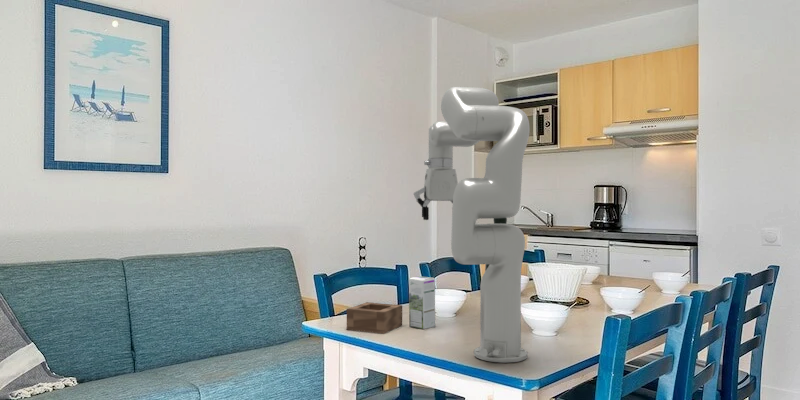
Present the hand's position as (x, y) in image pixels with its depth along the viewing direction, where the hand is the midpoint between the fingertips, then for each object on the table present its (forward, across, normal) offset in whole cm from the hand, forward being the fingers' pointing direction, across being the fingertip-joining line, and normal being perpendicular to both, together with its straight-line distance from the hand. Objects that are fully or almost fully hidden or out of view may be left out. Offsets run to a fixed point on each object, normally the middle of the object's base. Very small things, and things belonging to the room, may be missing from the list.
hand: (440, 219), depth 186 cm
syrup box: (+31, -9, -9) cm, 34 cm away
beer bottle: (+31, +24, +7) cm, 40 cm away
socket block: (+31, -22, -6) cm, 39 cm away
